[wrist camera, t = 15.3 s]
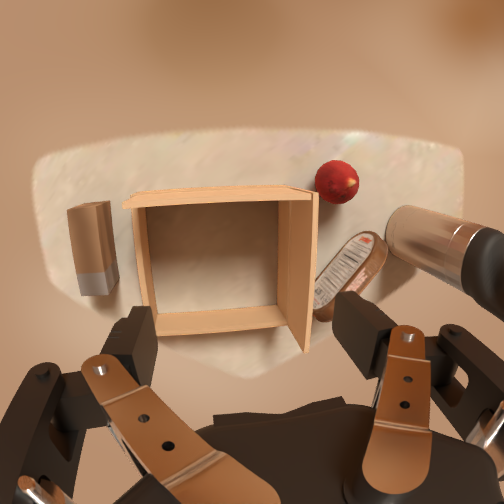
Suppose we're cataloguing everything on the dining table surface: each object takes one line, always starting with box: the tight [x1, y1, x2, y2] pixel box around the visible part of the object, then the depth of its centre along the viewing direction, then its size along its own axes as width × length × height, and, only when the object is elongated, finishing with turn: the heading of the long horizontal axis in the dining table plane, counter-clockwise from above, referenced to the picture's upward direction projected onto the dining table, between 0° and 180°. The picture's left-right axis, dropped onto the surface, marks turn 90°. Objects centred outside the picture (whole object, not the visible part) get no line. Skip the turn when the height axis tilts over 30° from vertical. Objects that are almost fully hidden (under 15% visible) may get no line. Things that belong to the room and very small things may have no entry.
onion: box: [315, 160, 359, 204], centre depth 36 cm, size 6×6×8 cm
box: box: [67, 201, 120, 296], centre depth 34 cm, size 4×11×6 cm, turn 1°
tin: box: [312, 231, 388, 322], centre depth 40 cm, size 15×3×8 cm, turn 140°
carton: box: [122, 185, 319, 353], centre depth 35 cm, size 20×19×12 cm
